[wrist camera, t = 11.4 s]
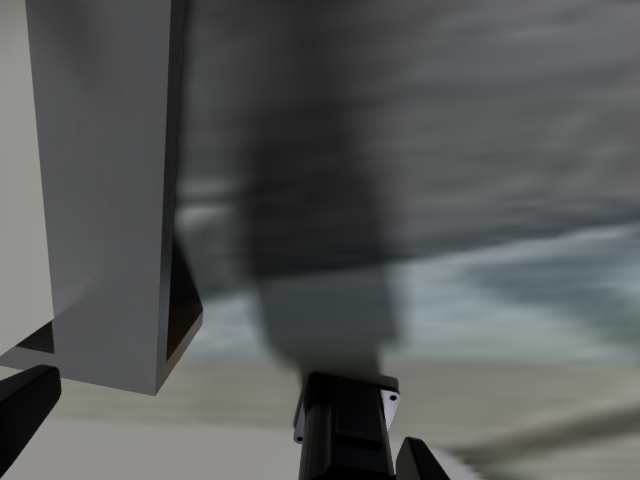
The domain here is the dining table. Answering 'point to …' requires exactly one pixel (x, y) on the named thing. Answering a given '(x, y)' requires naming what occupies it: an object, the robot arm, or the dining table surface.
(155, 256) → the keyhole board
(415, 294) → the dining table surface
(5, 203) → the power strip
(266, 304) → the dining table surface
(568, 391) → the dining table surface
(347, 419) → the robot arm
